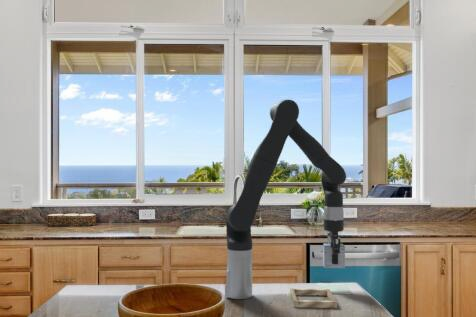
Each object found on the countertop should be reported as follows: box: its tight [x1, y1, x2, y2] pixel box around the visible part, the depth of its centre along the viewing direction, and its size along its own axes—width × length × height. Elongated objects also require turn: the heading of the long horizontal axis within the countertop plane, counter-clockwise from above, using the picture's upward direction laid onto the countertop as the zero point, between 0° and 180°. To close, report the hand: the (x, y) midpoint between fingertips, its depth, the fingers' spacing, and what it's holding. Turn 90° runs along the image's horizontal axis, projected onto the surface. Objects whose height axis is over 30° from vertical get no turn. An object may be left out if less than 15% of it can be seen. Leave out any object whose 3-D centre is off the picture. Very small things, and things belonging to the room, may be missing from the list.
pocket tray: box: [289, 288, 338, 309], centre depth 147 cm, size 14×14×2 cm
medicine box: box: [322, 243, 346, 269], centre depth 160 cm, size 8×4×9 cm, turn 84°
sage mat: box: [316, 282, 352, 295], centre depth 160 cm, size 11×11×1 cm
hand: (333, 262), depth 160 cm, fingers closed on medicine box, 4 cm apart
